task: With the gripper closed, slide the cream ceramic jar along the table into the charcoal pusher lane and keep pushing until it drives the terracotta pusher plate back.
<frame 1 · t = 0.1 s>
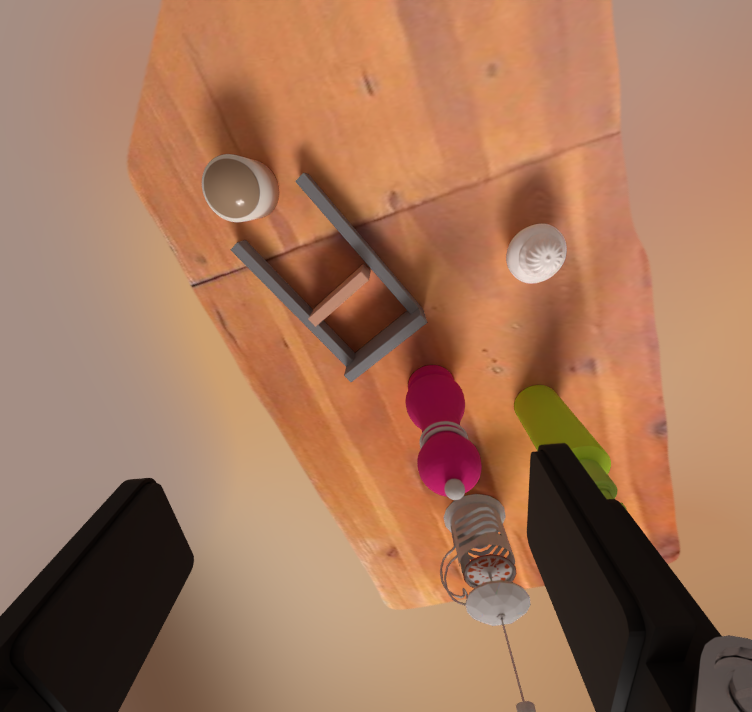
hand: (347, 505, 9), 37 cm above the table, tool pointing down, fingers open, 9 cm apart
pepper mill: (430, 384, 50), on the table
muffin: (524, 249, 43), on the table
soap dispenser: (536, 405, 51), on the table
jar: (252, 189, 41), on the table
lane: (333, 279, 44), on the table
pusher: (340, 294, 42), point 3 cm above the table, slide at 0.0 cm
french press: (468, 517, 60), on the table
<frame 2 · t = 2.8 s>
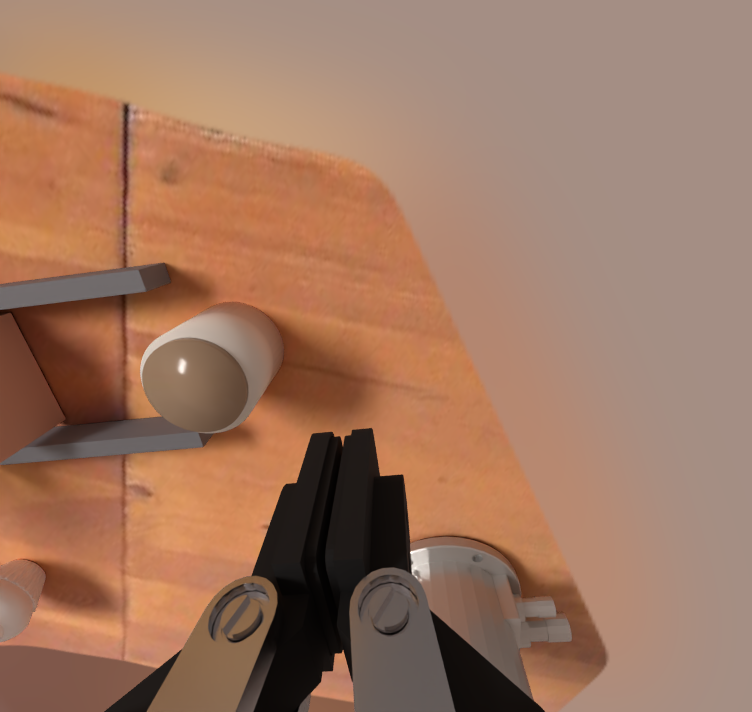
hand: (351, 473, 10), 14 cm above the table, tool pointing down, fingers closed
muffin: (29, 569, 34), on the table
jar: (238, 346, 24), on the table
lane: (54, 366, 25), on the table
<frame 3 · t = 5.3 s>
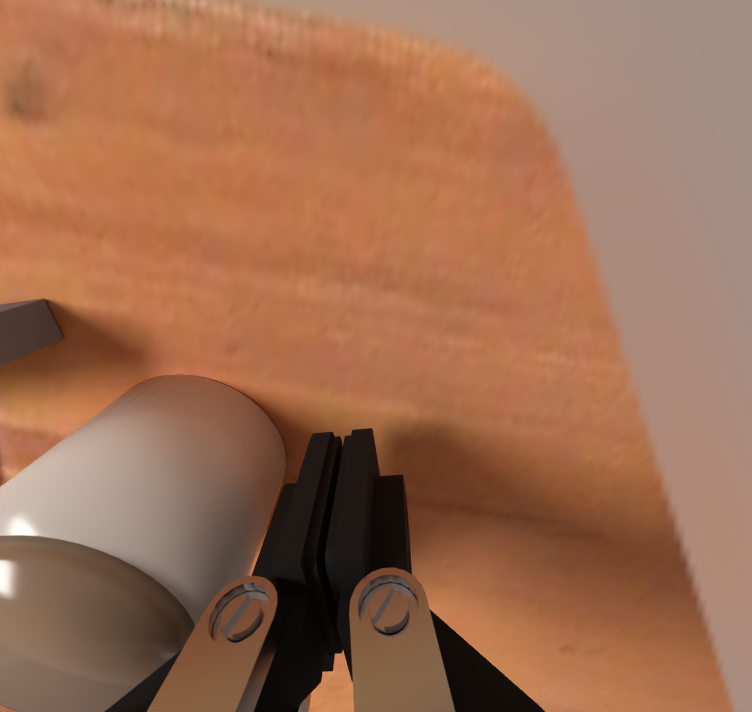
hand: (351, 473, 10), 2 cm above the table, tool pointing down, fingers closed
jar: (198, 453, 13), on the table, touching gripper
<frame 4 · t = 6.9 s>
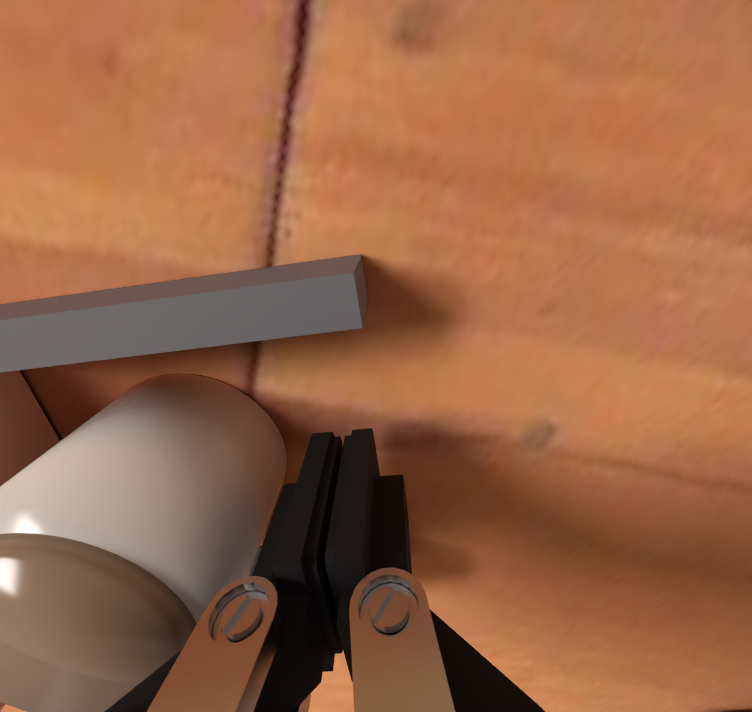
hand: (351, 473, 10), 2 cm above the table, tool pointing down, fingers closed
jar: (199, 452, 13), resting in lane, touching gripper
lane: (104, 462, 13), on the table
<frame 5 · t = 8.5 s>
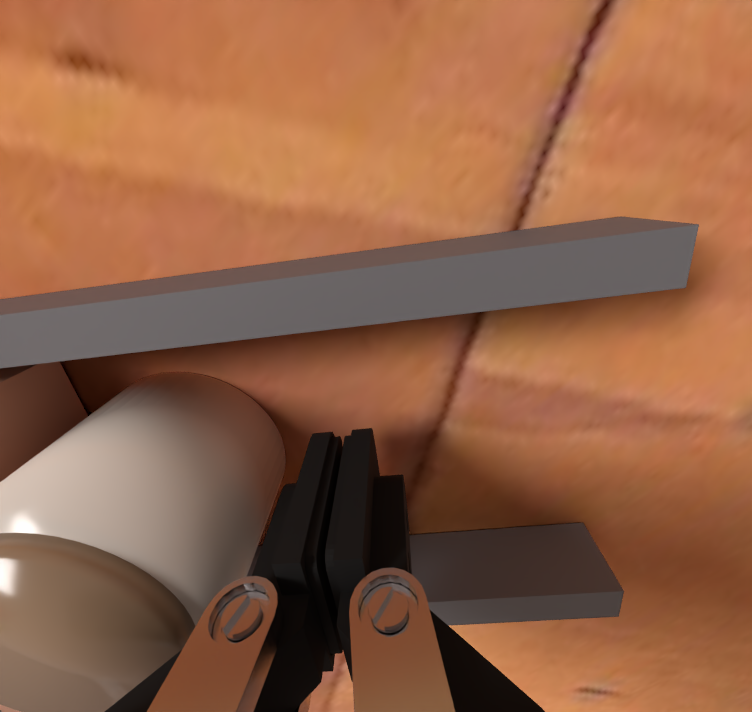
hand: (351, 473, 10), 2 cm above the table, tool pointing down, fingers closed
jar: (197, 451, 13), resting in lane, touching gripper, pusher
lane: (283, 443, 12), on the table
pusher: (31, 522, 10), point 3 cm above the table, slide at 5.0 cm, touching jar
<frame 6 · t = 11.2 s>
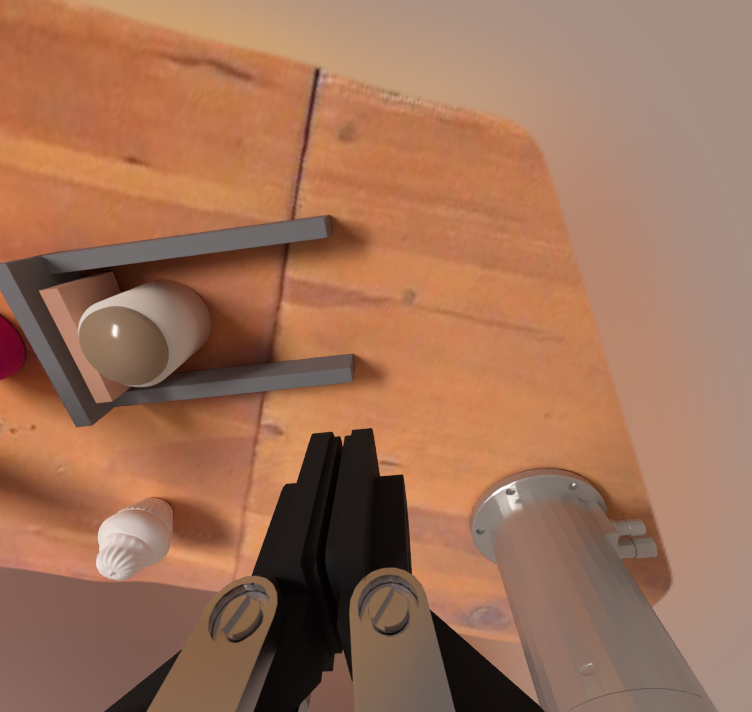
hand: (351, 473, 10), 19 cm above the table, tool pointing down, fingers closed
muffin: (157, 507, 37), on the table
jar: (172, 317, 28), resting in lane
lane: (213, 313, 28), on the table
pusher: (104, 335, 26), point 3 cm above the table, slide at 5.4 cm
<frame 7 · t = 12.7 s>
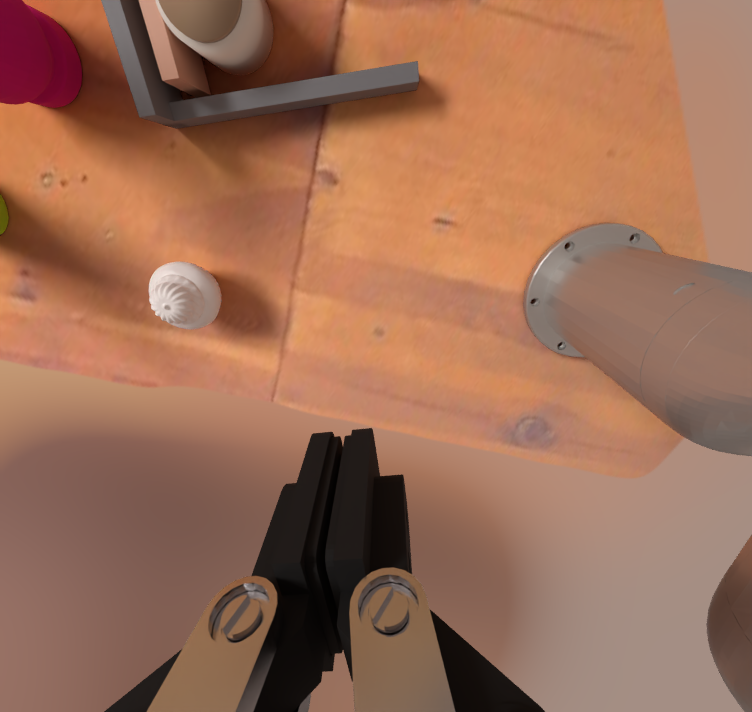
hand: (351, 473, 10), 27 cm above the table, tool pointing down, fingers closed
pepper mill: (45, 62, 29), on the table
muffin: (204, 286, 36), on the table
jar: (234, 27, 28), resting in lane
lane: (276, 19, 28), on the table
pusher: (170, 20, 26), point 3 cm above the table, slide at 5.4 cm
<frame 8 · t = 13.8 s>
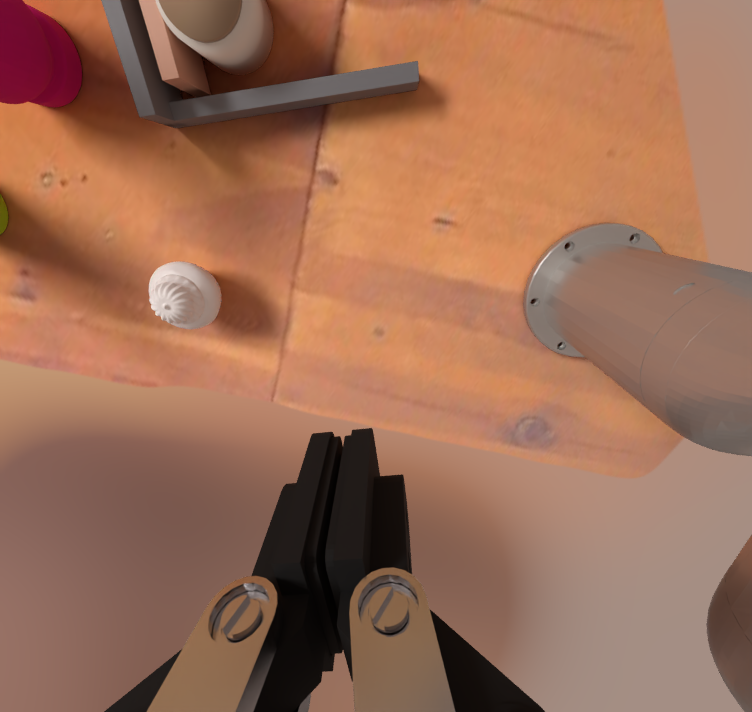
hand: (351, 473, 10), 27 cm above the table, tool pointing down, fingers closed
pepper mill: (45, 61, 29), on the table
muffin: (204, 286, 36), on the table
jar: (234, 26, 28), resting in lane
lane: (276, 18, 28), on the table
pusher: (170, 20, 26), point 3 cm above the table, slide at 5.4 cm
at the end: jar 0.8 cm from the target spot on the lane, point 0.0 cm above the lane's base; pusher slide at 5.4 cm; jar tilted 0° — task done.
